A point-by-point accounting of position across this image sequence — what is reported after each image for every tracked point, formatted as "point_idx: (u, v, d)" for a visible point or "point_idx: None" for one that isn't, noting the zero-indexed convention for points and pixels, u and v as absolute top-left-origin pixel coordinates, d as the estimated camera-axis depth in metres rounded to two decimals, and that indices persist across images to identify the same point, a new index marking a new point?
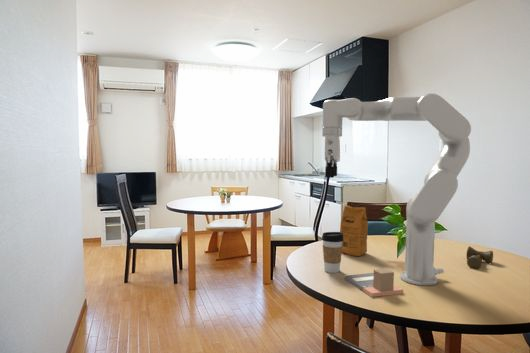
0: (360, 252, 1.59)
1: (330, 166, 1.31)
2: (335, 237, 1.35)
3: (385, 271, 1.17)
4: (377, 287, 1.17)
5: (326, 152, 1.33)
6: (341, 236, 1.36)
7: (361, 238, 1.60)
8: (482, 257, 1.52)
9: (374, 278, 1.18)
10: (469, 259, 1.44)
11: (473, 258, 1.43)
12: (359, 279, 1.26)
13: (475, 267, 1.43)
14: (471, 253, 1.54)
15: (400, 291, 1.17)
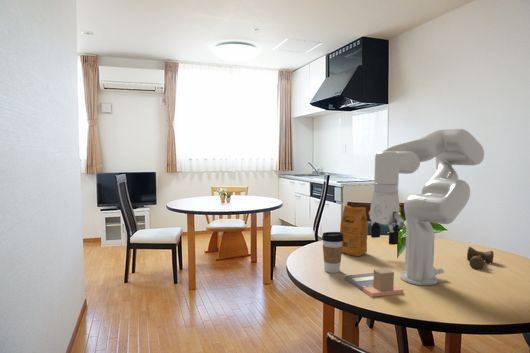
0: (360, 252, 1.59)
1: None
2: (335, 237, 1.35)
3: (385, 271, 1.17)
4: (377, 287, 1.17)
5: None
6: (341, 236, 1.36)
7: (361, 238, 1.60)
8: (483, 257, 1.51)
9: (374, 278, 1.18)
10: (472, 260, 1.43)
11: (476, 259, 1.42)
12: (359, 279, 1.26)
13: (478, 268, 1.42)
14: (472, 253, 1.53)
15: (400, 291, 1.17)
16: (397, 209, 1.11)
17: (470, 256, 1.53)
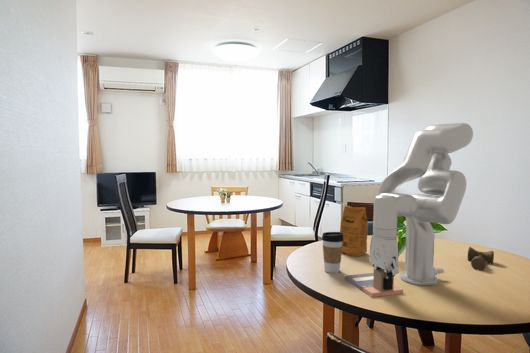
0: (360, 252, 1.59)
1: None
2: (335, 237, 1.35)
3: None
4: (377, 287, 1.17)
5: None
6: (341, 236, 1.36)
7: (361, 238, 1.60)
8: (483, 257, 1.51)
9: (374, 278, 1.18)
10: (473, 260, 1.43)
11: (477, 259, 1.42)
12: (359, 279, 1.26)
13: (479, 268, 1.42)
14: (472, 254, 1.53)
15: (400, 291, 1.17)
16: (396, 254, 1.12)
17: (471, 256, 1.53)
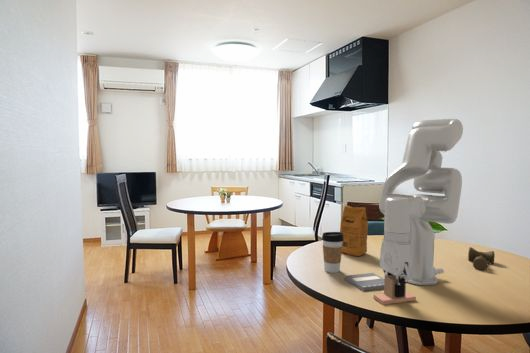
0: (360, 252, 1.59)
1: None
2: (335, 237, 1.35)
3: None
4: (388, 294, 1.11)
5: None
6: (341, 236, 1.36)
7: (361, 238, 1.60)
8: (484, 258, 1.51)
9: (385, 284, 1.12)
10: (475, 261, 1.42)
11: (479, 259, 1.41)
12: (359, 279, 1.26)
13: (481, 268, 1.41)
14: (473, 254, 1.52)
15: (412, 298, 1.11)
16: (408, 259, 1.07)
17: (471, 257, 1.52)
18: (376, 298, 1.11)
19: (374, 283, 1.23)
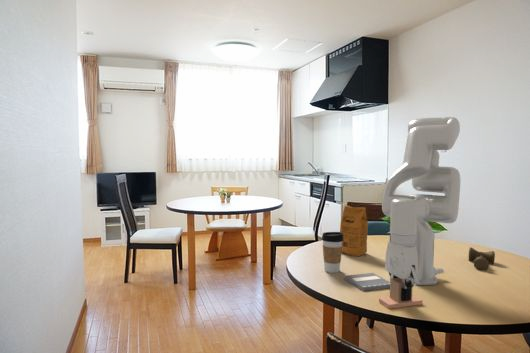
0: (360, 252, 1.59)
1: None
2: (335, 237, 1.35)
3: None
4: (394, 298, 1.08)
5: None
6: (341, 236, 1.36)
7: (361, 238, 1.60)
8: (484, 258, 1.51)
9: (391, 288, 1.10)
10: (476, 261, 1.42)
11: (480, 260, 1.41)
12: (359, 279, 1.26)
13: (482, 269, 1.41)
14: (473, 254, 1.52)
15: (419, 301, 1.08)
16: (415, 262, 1.04)
17: (472, 257, 1.52)
18: (382, 302, 1.08)
19: (374, 283, 1.23)
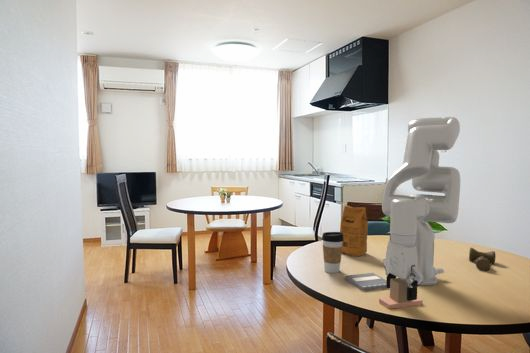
0: (360, 252, 1.59)
1: None
2: (335, 237, 1.35)
3: (403, 280, 1.08)
4: (394, 298, 1.08)
5: None
6: (341, 236, 1.36)
7: (361, 238, 1.60)
8: (485, 258, 1.50)
9: (391, 288, 1.10)
10: (478, 261, 1.41)
11: (482, 260, 1.41)
12: (359, 279, 1.26)
13: (484, 269, 1.40)
14: (474, 254, 1.52)
15: (419, 302, 1.08)
16: (415, 262, 1.04)
17: (473, 257, 1.52)
18: (382, 302, 1.08)
19: (374, 283, 1.23)
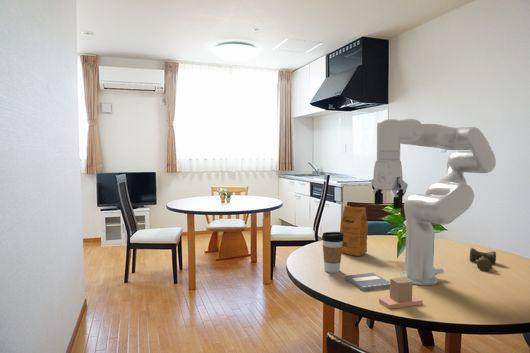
0: (360, 252, 1.59)
1: None
2: (335, 237, 1.35)
3: (403, 280, 1.08)
4: (394, 298, 1.08)
5: None
6: (341, 236, 1.36)
7: (361, 238, 1.60)
8: (486, 258, 1.50)
9: (391, 288, 1.10)
10: (479, 261, 1.41)
11: (484, 260, 1.40)
12: (359, 279, 1.26)
13: (486, 269, 1.40)
14: (475, 255, 1.51)
15: (419, 302, 1.08)
16: (400, 174, 1.16)
17: (473, 257, 1.51)
18: (382, 302, 1.08)
19: (374, 283, 1.23)
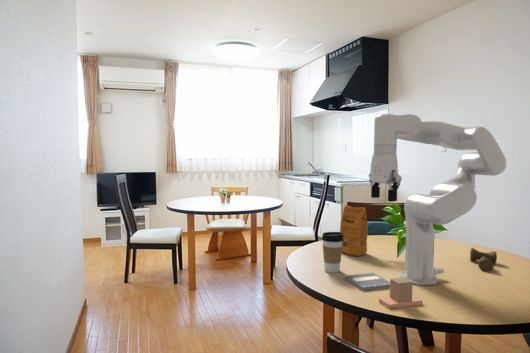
0: (360, 252, 1.59)
1: None
2: (335, 237, 1.35)
3: (403, 280, 1.08)
4: (394, 298, 1.08)
5: None
6: (341, 236, 1.36)
7: (361, 238, 1.60)
8: (486, 258, 1.50)
9: (391, 288, 1.10)
10: (481, 262, 1.41)
11: (485, 261, 1.40)
12: (359, 279, 1.26)
13: (487, 270, 1.40)
14: (475, 255, 1.51)
15: (419, 302, 1.08)
16: (395, 168, 1.18)
17: (474, 257, 1.51)
18: (382, 302, 1.08)
19: (374, 283, 1.23)
